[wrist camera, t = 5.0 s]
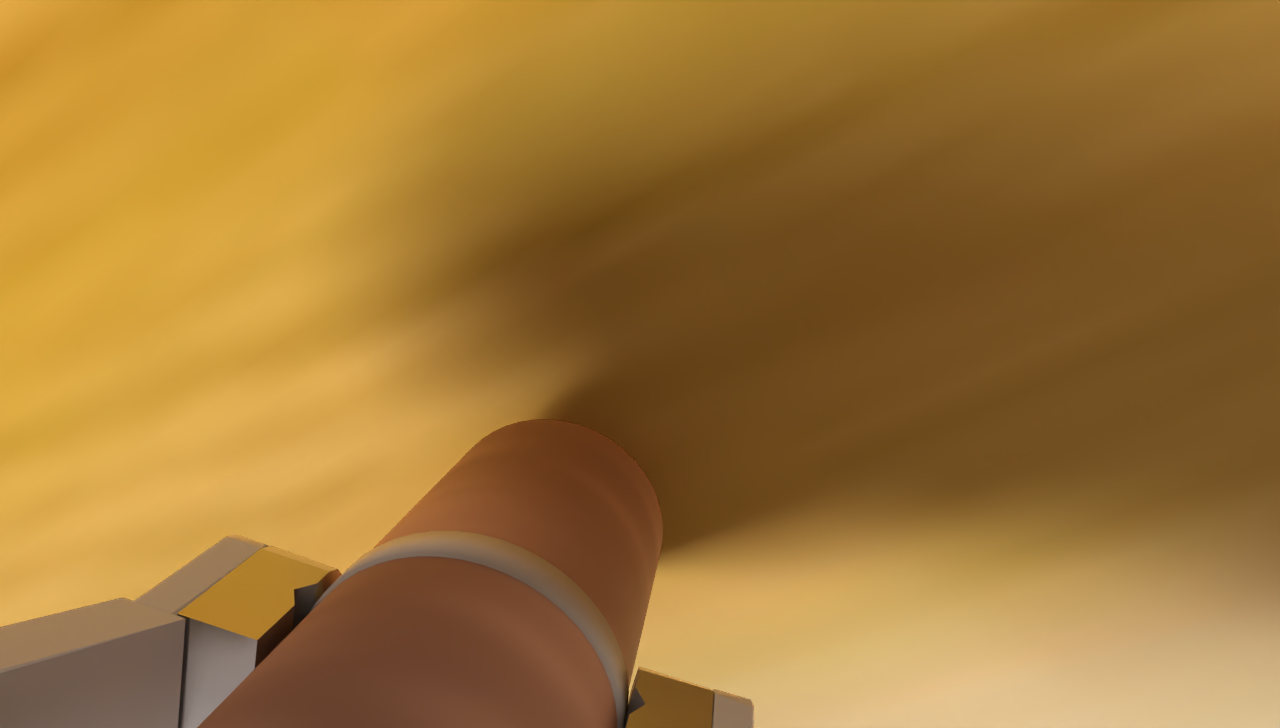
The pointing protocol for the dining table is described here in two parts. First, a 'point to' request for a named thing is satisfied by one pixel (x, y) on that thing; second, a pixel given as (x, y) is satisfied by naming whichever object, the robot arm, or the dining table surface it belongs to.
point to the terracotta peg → (481, 601)
